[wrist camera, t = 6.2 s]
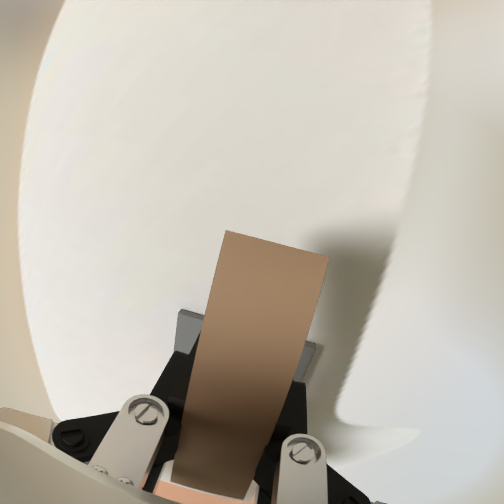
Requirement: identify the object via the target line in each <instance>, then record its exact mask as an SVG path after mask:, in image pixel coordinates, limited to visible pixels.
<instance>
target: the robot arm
mask: <svg viewBox="0 0 504 504" xmlns="http://www.w3.org/2000/svg"><path fill="white" fill-rule="evenodd" d="M200 333H201V331H200ZM200 333H199V335H198V337H197V339H196V341H195V343H194V345H193V347H192V349H191V351H190V353H189V354H186V353H183V352H180V351H177V350H176V351H175V352H174V353H173V355H172V357H171V358H170V360H169V362H168V364H167V365H166V367H165V369H164V371H163V372H162V374H161V376H160V378H159V379H158V381H157V383H156V385H155V386H154V388H153V390H152V392H151V393H150V395H141V394H140V395H136V396H133V397H131V398H129V399H128V400H127V401H126V402H125V404H124V405H123V407H122V409H121V410H120V411H117V412H112V413H107V414H102V415H96V416H90V417H84V418H78V419H71V420H66V421H62V422H60V423H54V422H53V420H52V419H47V418H43V417H39V416H35V415H31V414H27V413H23V412H20V411H17V410H14V409H10V408H0V504H182V503H179V502H175V501H172V500H169V499H166V498H163V497H160V496H157V495H155V492H156V490H157V487H158V484H159V482H160V479H161V476H162V474H163V471H164V469H165V466H166V463H167V462H168V461H171V460H174V457H175V453H176V452H177V449H178V443H179V438H180V433H181V428H182V424H181V421H182V416H183V411H184V406H185V402H187V401H186V397H187V392H188V387H189V382H190V378H191V373H192V369H193V364H194V360H195V355H196V351H197V346H198V342H199V337H200ZM274 424H275V425H276V426H275V428H274V431H273V433H272V436H271V438H270V441H269V443H268V446H267V445H266V446H265V448H264V451H263V453H262V456H261V458H260V461H259V463H258V465H257V468H256V470H255V476H254V478H253V480H254V481H255V482H256V483H257V486H256V492H255V498H254V504H386V503H382V502H379V501H376V502H375V503H373V502H370V500H369V498H368V497H367V496H366V495H365V494H363V493H362V492H361V491H360V490H358V489H357V488H356V487H354V486H353V485H352V484H351V483H349V482H348V481H347V480H346V479H344V478H343V477H342V476H341V475H340V474H338V473H337V472H336V471H335V470H334V469H332V468H331V467H330V466H329V465H328V464H326V452H325V448H324V446H323V445H322V443H321V442H320V441H319V440H318V439H316V438H314V437H312V436H310V435H307V406H306V385H305V383H302V382H297V381H294V377H293V380H292V383H291V385H290V388H289V391H288V394H287V397H286V399H285V402H284V405H283V407H282V410H281V413H280V415H279V418H278V420H277V423H274Z"/></svg>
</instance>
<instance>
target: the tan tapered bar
mask: <svg viewBox="0 0 504 504" xmlns="http://www.w3.org/2000/svg"><path fill="white" fill-rule="evenodd" d="M328 261H329V257H326V256H323V255H319V254H315V253H311V252H308V251H304V250H300V249H296V248H293V247H289V246H285V245H281V244H277V243H274V242H270V241H266V240H262V239H258V238H254V237H250V236H247V235H243V234H239V233H235V232H231V231H227V230H226V231H225V235H224V239H223V243H222V247H221V251H220V255H219V258H218V262H217V266H216V270H215V274H214V279H213V283H212V287H211V291H210V295H209V299H208V303H207V307H206V312H205V316H204V320H203V324H202V329H201V333H200V337H199V342H198V346H197V351H196V355H195V360H194V364H193V369H192V373H191V378H190V382H189V387H188V392H187V397H186V401H187V402H185V406H184V411H183V416H182V421H181V424H182V428H181V433H180V438H179V443H178V449H177V452H176V453H175V457H174V460H171V461H168V462H167V463H166V466H165V469H164V471H163V474H162V476H161V479H160V480H162V481H165V482H168V483H171V484H174V485H177V486H180V487H184V488H187V489H190V490H194V491H198V492H201V493H205V494H209V495H213V496H218V497H222V498H227V499H232V500H237V501H242V502H248V503H250V502H251V500H252V498H253V496H254V494H255V492H256V486H257V483H256V482H255V481H254V480H253V478H254V476H255V470H256V468H257V465H258V463H259V461H260V458H261V456H262V453H263V451H264V448H265V446H266V445H267V446H268V443H269V441H270V438H271V436H272V433H273V431H274V428H275V426H276V425H275V424H274V423H277V420H278V418H279V415H280V413H281V410H282V407H283V405H284V402H285V399H286V397H287V394H288V391H289V388H290V385H291V383H292V380H293V377H294V374H295V371H296V368H297V365H298V362H299V359H300V356H301V353H302V350H303V347H304V344H305V341H306V338H307V335H308V331H309V328H310V325H311V322H312V318H313V315H314V312H315V308H316V305H317V301H318V298H319V294H320V291H321V287H322V284H323V280H324V276H325V273H326V269H327V265H328Z"/></svg>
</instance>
